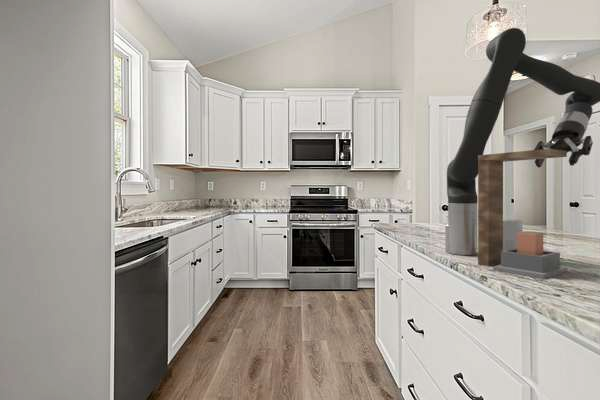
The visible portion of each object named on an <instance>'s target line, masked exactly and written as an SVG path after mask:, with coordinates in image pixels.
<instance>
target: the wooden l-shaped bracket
mask: <svg viewBox="0 0 600 400" xmlns="http://www.w3.org/2000/svg"><path fill="white" fill-rule="evenodd" d="M567 157H568V156H567V151H563V150H556V149H540V150H534V149H531V150H521V151H511V152H501V153H500V152H499V153H489V154H483V155H478V175H477V197H478V242H477V247H478V249H477V265H478V266H485V267H490V266H497V265H501V251H503V221H504V162H517V161H528V160H529V161H531V160H536V159H544V160H545V159H557V158H567Z"/></svg>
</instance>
